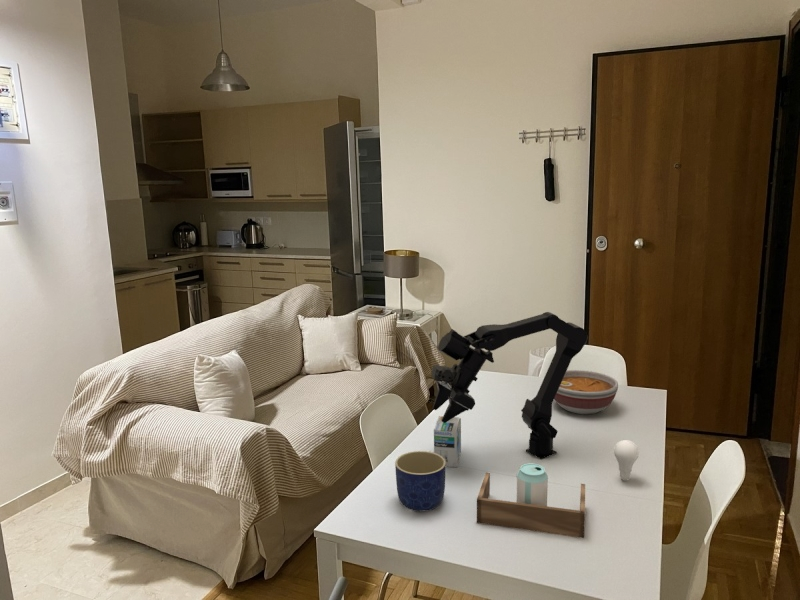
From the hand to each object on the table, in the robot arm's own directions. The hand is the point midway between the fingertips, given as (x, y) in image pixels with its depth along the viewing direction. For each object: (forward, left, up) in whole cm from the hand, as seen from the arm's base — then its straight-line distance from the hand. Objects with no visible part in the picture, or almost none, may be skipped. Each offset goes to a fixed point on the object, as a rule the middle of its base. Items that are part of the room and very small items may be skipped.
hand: (438, 415), depth 169 cm
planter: (+15, +13, -15) cm, 25 cm away
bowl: (-65, -5, -15) cm, 66 cm away
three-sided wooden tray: (-3, +33, -15) cm, 36 cm away
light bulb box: (-5, -2, -15) cm, 16 cm away
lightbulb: (-35, +35, -15) cm, 52 cm away
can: (-3, +33, -15) cm, 37 cm away
